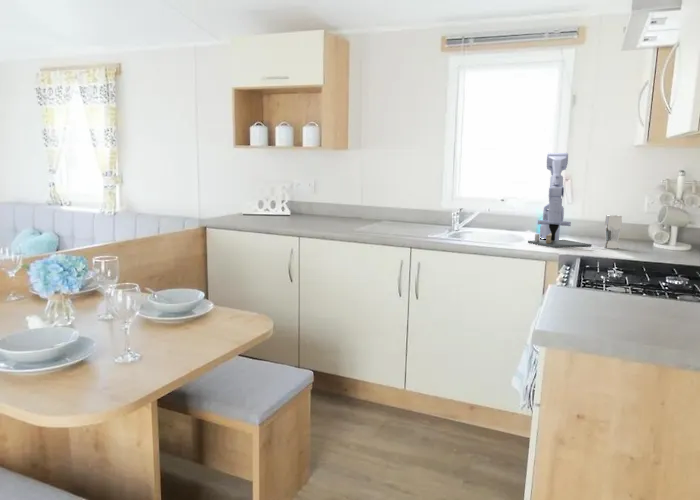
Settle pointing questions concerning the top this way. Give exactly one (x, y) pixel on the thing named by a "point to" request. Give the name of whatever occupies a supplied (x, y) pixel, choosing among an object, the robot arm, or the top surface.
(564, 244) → the gate board
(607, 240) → the beer glass
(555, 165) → the robot arm
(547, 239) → the gate
